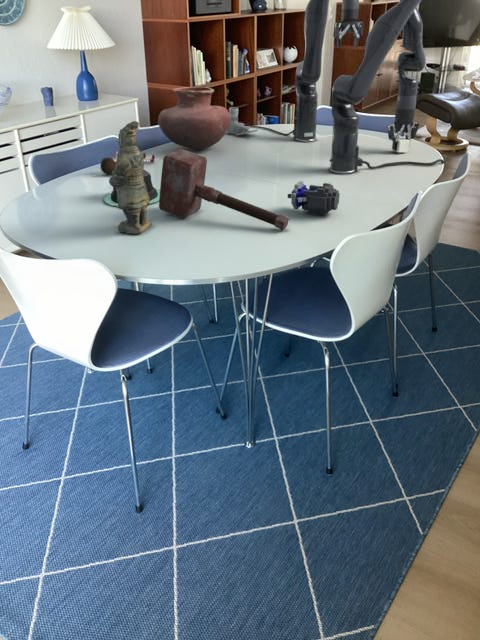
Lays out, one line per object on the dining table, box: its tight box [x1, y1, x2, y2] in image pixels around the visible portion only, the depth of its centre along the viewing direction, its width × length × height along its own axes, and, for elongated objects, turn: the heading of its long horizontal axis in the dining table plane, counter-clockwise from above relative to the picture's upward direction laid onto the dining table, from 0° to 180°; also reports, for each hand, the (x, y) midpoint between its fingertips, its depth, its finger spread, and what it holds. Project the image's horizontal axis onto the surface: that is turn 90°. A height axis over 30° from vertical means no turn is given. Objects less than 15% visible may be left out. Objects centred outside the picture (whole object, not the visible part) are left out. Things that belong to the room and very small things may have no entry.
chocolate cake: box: [103, 168, 160, 207], centre depth 186 cm, size 15×19×20 cm
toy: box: [287, 180, 341, 216], centre depth 168 cm, size 9×9×15 cm
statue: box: [108, 120, 153, 235], centre depth 154 cm, size 11×9×30 cm
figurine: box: [100, 149, 156, 176], centre depth 217 cm, size 13×8×25 cm
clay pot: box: [157, 86, 231, 151], centre depth 238 cm, size 30×30×25 cm
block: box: [391, 137, 411, 153], centre depth 230 cm, size 5×5×5 cm
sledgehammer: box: [158, 148, 290, 231], centre depth 163 cm, size 17×10×40 cm
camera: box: [226, 106, 259, 136], centre depth 264 cm, size 9×12×15 cm
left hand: (347, 47), depth 260 cm, fingers open, 8 cm apart
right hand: (400, 149), depth 231 cm, fingers closed on block, 4 cm apart
